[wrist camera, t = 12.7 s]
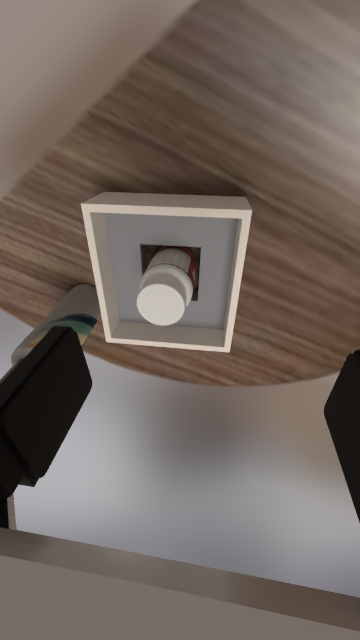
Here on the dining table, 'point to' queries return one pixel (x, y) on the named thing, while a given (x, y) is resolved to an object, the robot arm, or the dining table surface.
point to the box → (172, 230)
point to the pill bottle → (167, 285)
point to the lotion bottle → (63, 320)
